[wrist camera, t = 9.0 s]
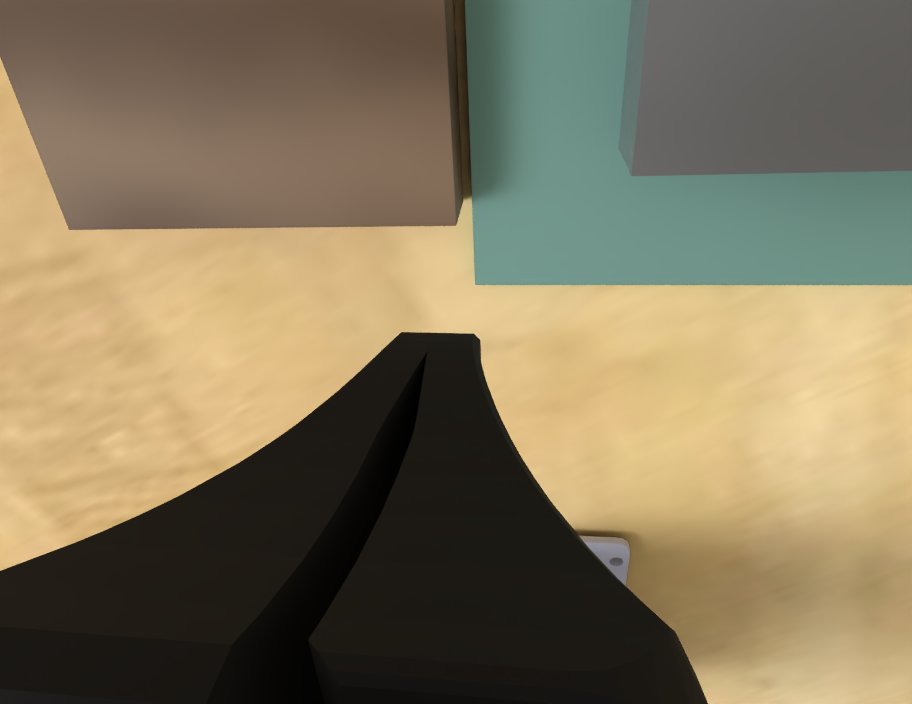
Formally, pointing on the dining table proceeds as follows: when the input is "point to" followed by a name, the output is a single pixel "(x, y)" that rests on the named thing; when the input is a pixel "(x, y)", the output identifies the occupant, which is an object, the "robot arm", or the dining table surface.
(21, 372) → the dining table surface
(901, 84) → the slate tile
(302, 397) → the dining table surface
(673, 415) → the dining table surface
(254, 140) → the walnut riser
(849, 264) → the teal mat
